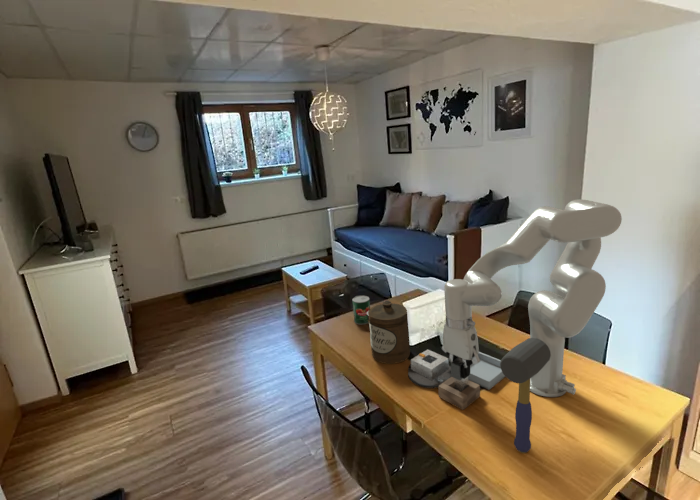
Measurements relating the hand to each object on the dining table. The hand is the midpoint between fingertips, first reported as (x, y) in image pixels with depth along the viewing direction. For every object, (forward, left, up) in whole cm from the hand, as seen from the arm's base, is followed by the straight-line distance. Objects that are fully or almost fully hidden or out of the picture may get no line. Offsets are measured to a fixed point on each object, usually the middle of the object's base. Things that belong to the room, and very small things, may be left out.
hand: (460, 373), depth 120 cm
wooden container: (+34, -3, -8) cm, 36 cm away
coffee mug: (+50, -12, -8) cm, 53 cm away
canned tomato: (+64, -15, -8) cm, 67 cm away
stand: (0, +1, -8) cm, 8 cm away
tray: (+2, -15, -8) cm, 18 cm away
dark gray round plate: (+14, -2, -8) cm, 17 cm away
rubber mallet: (-24, +8, -8) cm, 26 cm away
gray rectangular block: (0, 0, -5) cm, 5 cm away
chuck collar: (+14, -2, -6) cm, 16 cm away
